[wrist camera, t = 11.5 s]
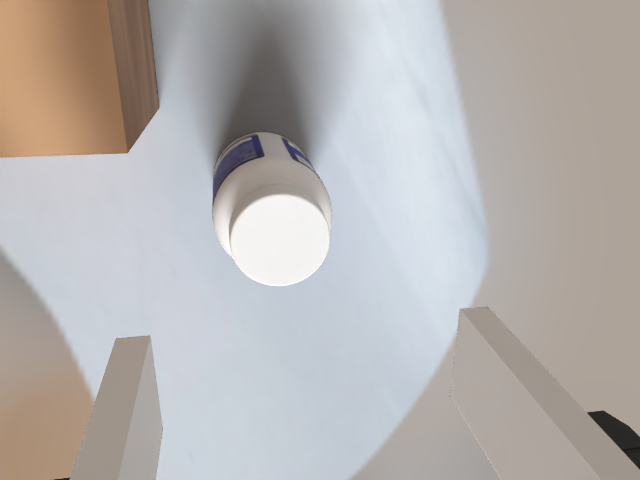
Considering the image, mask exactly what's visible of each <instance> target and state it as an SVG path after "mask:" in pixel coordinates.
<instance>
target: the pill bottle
mask: <svg viewBox="0 0 640 480" xmlns="http://www.w3.org/2000/svg"><path fill="white" fill-rule="evenodd" d="M212 214H213V224H214V229H215V232H216V235H217V237H218V240H219V242H220V243H221V245H222V247H223V248H224V249H225V251H226V252H227V253H228V254H229V255H230V256H231V257H232V258H233V259H234V261H235V262H236V264H237V266H238V267H239V268H240V269H241V271H243V272H244V273H245V274H246V275H247V276H248V277H250V278H251V279H253V280H255V281H257V282H259V283H262V284H266V285H271V286H285V285H290V284H294V283H297V282H299V281H301V280H303V279H305V278H307V277H308V276H310V275H311V274H312V273H313V272H315V271H316V270H317V269H318V267H319V266H320V265H321V264H322V262H323V261H324V259H325V257H326V255H327V252H328V249H329V244H330V226H331V220H332V207H331V201H330V197H329V194H328V192H327V190H326V188H325V186H324V184H323V182H322V180H321V179H320V177H319V176H318V174H317V173H316V171H315V170H314V168H313V167H312V165H311V164H310V162H309V161H308V159H307V157H306V156H305V155H304V153H303V152H302V151H301V149H300V148H299V147H298V146H297V145H296V144H295V143H293V142H292V141H290V140H289V139H287V138H285V137H283V136H280V135H277V134H274V133H268V132H257V133H251V134H247V135H245V136H242V137H240V138H238V139H236V140H235V141H233V142H232V143H231V144H230V145H228V146H227V147H226V149H225V150H224V151H223V152H222V154H221V155H220V157H219V159H218V161H217V163H216V166H215V170H214V176H213V210H212Z"/></svg>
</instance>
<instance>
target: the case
mask: <svg viewBox="0 0 640 480" xmlns="http://www.w3.org/2000/svg"><path fill="white" fill-rule="evenodd" d="M158 109H159V99H158V90H157V81H156V72H155V62H154V53H153V44H152V35H151V25H150V16H149V7H148V0H0V158H1V157H30V156H59V155H89V154H118V153H128V152H129V150H130V149H131V148H132V146H133V145H134V143H135V142H136V140H137V139H138V138H139V136H140V135H141V133H142V132H143V130H144V129H145V128H146V126H147V125H148V123H149V122H150V120H151V119H152V118H153V116H154V115H155V113H156V112H157V110H158Z"/></svg>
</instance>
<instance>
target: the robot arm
mask: <svg viewBox="0 0 640 480" xmlns="http://www.w3.org/2000/svg"><path fill="white" fill-rule="evenodd" d="M452 373H453V374H452V381H451V390H450V398H451V399H452V401H453V403H454V404H455V406H456V408H457V409H458V411H459V413H460V414H461V416H462V417H463V419H464V421H465V422H466V424H467V426H468V427H469V429H470V431H471V432H472V434H473V435H474V437H475V439H476V441H477V442H478V443H479V445H480V447H481V449H482V450H483V452H484V454H485V455H486V457H487V459H488V460H489V462H490V463H491V465H492V466H493V468H494V470H495V472H496V473H497V475H498V477H499V478H500V480H640V437H639V436H638V435H637V434H636V433H635V432H634V431H633V430H632V429H631V428H630V427H629V426H628V425H626V424H624V423H622V422H621V421H619V420H618V419H616V418H615V417H613V416H611V415H610V414H608V413H606V412H605V411H596V412H587V413H586V411H585V410H584V409H583V408H582V407H581V406H580V405H579V404H578V403H577V402H576V401H575V400H574V399H573V398H572V396H571V395H570V394H569V393H568V392H567V391H566V390H565V389H564V388H563V387H562V386H561V385H560V384H559V382H558V381H557V380H556V379H555V378H554V377H553V376H552V375H551V374H550V373H549V372H548V371H547V370H546V369H545V367H544V366H543V365H542V364H541V363H540V362H539V361H538V360H537V359H536V358H535V357H534V356H533V355H532V353H531V352H530V351H529V350H528V349H527V348H526V347H525V346H524V345H523V344H522V343H521V342H520V341H519V339H518V338H517V337H516V336H515V335H514V334H513V333H512V332H511V331H510V330H509V329H508V328H507V327H506V326H505V325H504V324H503V322H502V321H501V320H500V319H499V318H498V317H497V316H496V315H495V314H494V313H493V312H492V310H490V308H489V307H476V308H465V309H460V312H459V320H458V329H457V338H456V346H455V355H454V364H453V372H452ZM162 431H163V426H162V419H161V412H160V404H159V397H158V390H157V382H156V375H155V367H154V360H153V353H152V345H151V338H150V336H138V337H127V338H116V340H115V343H114V346H113V349H112V352H111V355H110V358H109V361H108V364H107V367H106V370H105V373H104V376H103V379H102V382H101V386H100V389H99V392H98V395H97V398H96V401H95V404H94V407H93V410H92V413H91V416H90V419H89V422H88V425H87V428H86V431H85V434H84V438H83V440H82V443H81V446H80V450H79V452H78V455H77V459H76V462H75V465H74V468H73V471H72V474H71V477H70V478H64V479H55V480H156V473H157V466H158V459H159V452H160V445H161V438H162Z"/></svg>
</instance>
